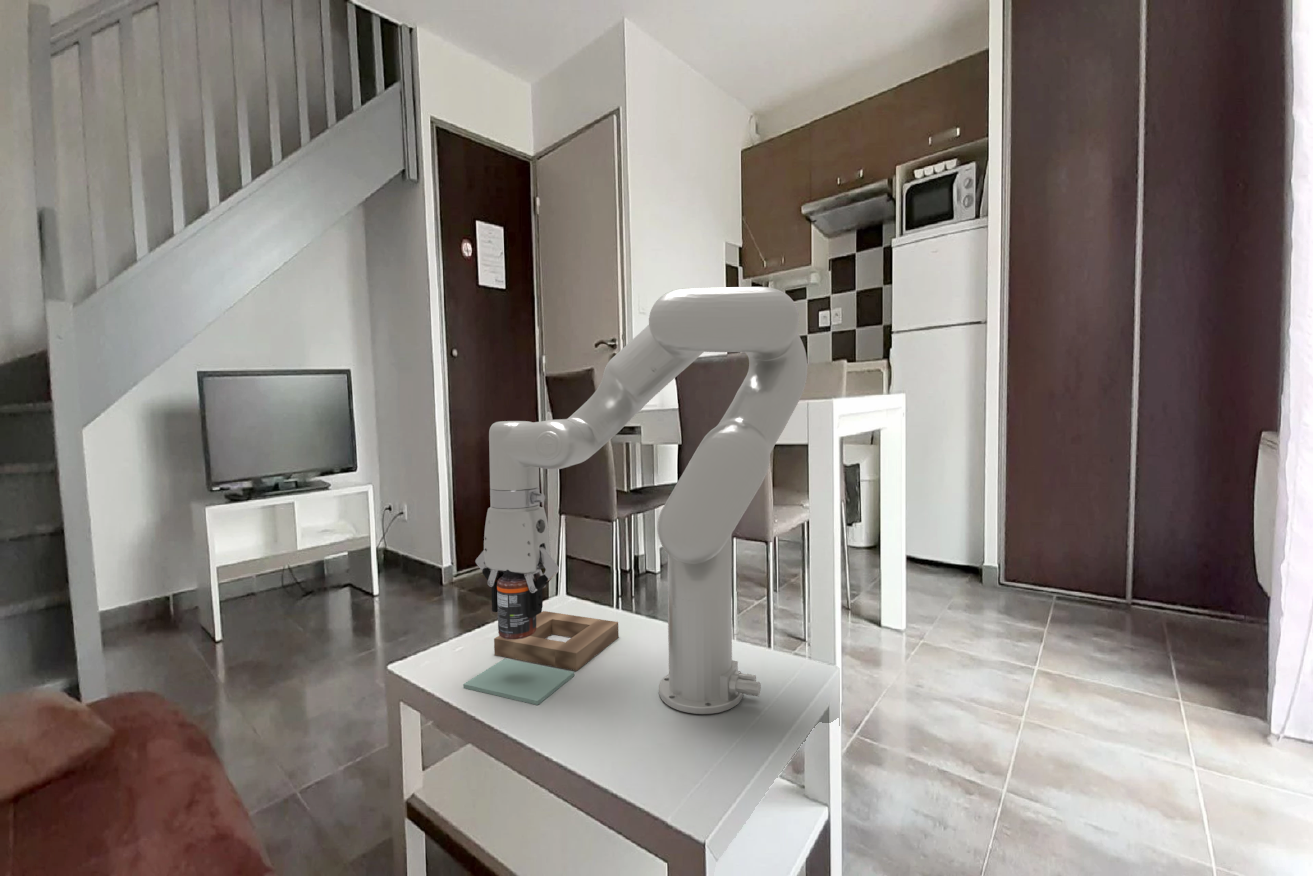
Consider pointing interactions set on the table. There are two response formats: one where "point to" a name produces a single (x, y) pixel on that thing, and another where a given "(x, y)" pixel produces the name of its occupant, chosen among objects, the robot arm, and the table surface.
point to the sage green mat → (519, 681)
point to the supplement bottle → (513, 607)
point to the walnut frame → (567, 655)
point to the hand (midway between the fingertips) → (517, 611)
